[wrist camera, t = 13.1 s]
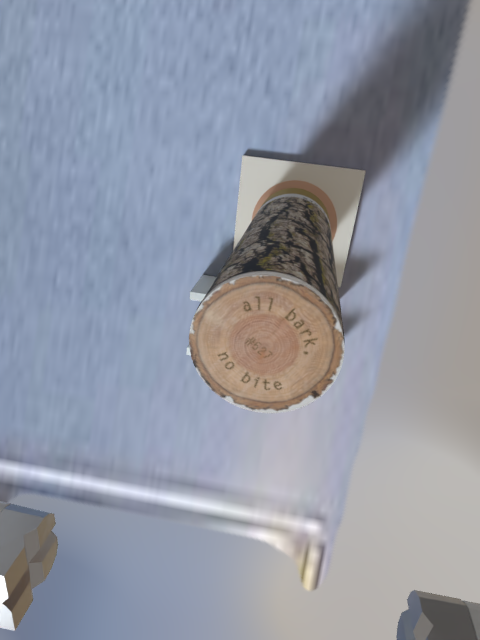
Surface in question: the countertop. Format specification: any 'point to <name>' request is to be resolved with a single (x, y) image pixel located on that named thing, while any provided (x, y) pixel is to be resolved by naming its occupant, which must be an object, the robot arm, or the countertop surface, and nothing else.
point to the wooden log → (273, 311)
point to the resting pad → (323, 181)
